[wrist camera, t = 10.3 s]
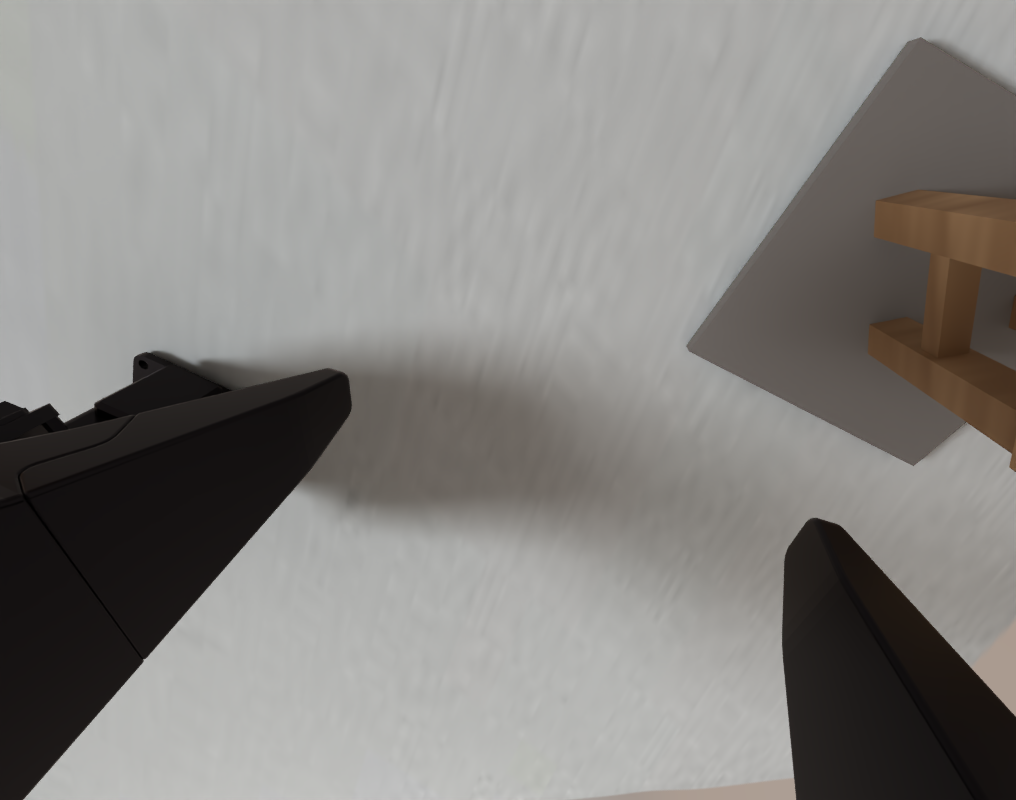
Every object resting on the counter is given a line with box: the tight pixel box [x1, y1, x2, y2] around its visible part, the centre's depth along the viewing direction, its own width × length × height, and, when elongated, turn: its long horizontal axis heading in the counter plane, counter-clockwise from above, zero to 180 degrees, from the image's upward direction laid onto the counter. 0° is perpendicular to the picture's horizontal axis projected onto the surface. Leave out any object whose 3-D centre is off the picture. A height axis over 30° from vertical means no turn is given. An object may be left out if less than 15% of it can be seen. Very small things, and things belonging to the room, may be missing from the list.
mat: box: [687, 37, 1016, 466], centre depth 17 cm, size 11×11×1 cm
